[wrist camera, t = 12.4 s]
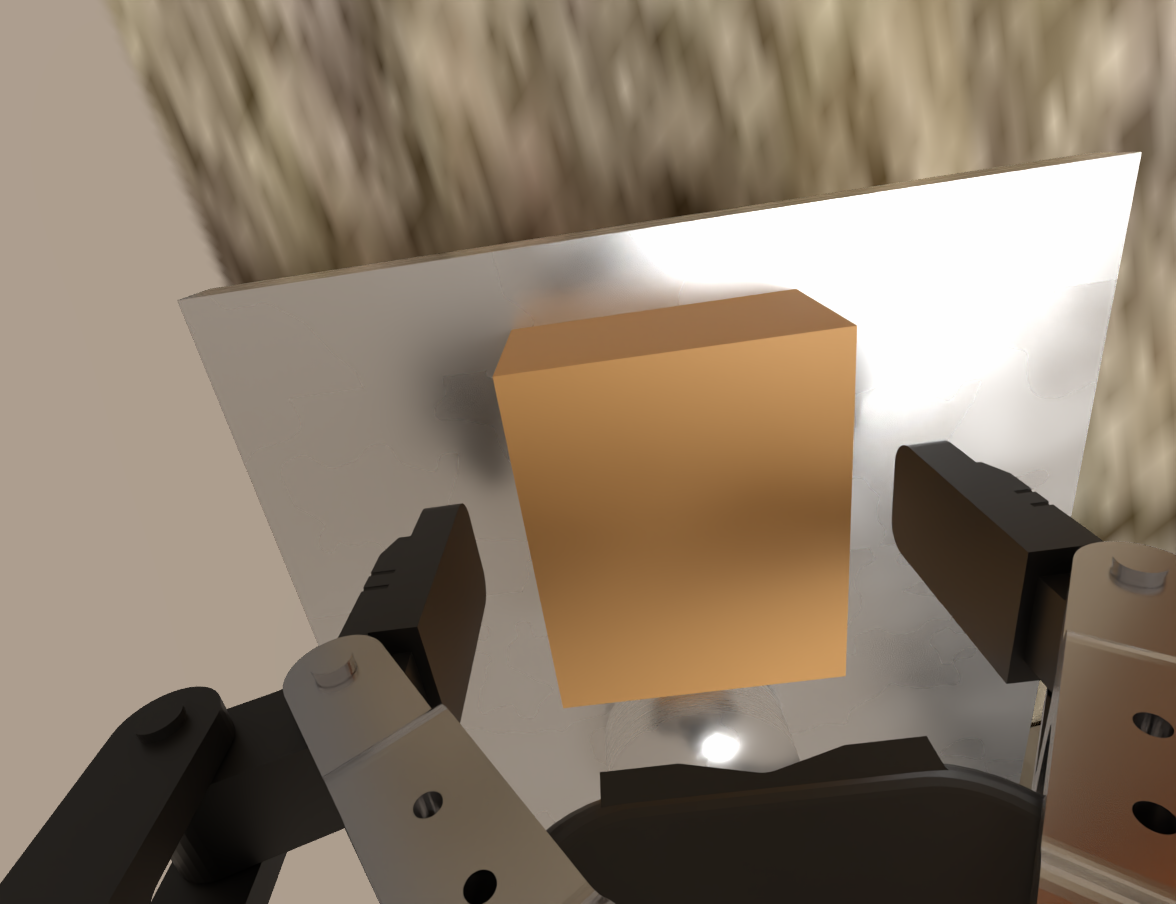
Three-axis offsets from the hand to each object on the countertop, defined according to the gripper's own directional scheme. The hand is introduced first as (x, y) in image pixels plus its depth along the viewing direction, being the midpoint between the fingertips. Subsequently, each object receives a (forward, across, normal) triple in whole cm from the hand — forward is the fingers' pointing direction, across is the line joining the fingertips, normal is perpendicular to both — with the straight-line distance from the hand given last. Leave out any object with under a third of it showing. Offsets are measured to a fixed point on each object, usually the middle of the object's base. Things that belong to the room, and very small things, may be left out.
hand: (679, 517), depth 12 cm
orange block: (+11, 0, 0) cm, 11 cm away
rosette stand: (+13, 0, +5) cm, 14 cm away
